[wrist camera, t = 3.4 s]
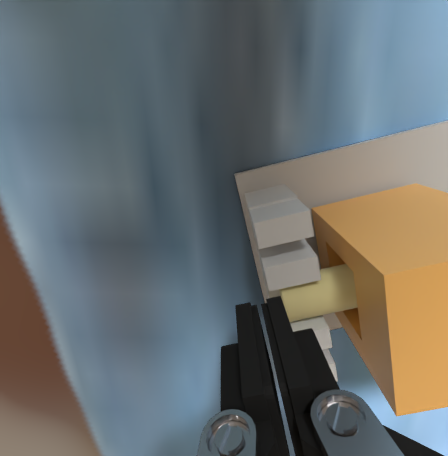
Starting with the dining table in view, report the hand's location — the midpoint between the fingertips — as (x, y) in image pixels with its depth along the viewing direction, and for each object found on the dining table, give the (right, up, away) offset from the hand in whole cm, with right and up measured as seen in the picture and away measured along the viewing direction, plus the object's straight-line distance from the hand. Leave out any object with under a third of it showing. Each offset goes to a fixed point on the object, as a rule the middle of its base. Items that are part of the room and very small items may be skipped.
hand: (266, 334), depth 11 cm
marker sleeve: (+6, +3, +5) cm, 8 cm away
